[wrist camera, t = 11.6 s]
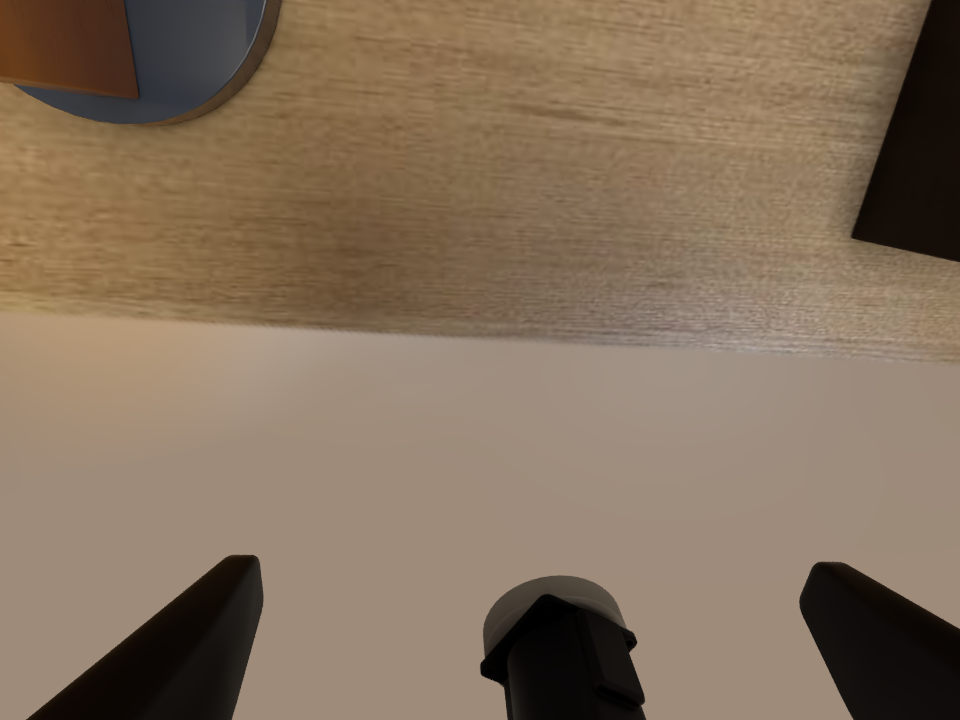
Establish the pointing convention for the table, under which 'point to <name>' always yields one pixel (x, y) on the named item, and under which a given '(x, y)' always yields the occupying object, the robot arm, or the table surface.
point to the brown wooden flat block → (67, 46)
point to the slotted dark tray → (922, 150)
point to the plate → (180, 60)
